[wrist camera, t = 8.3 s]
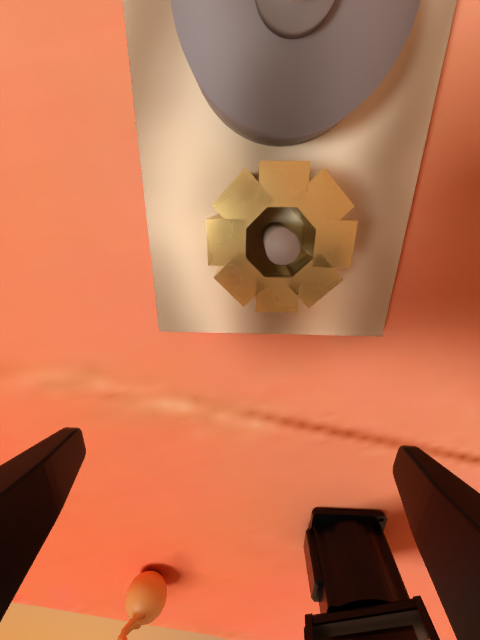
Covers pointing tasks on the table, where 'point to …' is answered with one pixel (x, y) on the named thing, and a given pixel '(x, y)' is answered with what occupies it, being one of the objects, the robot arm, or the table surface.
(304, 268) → the brass gear
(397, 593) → the robot arm
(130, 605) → the figurine
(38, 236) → the table surface
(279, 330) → the gear board
